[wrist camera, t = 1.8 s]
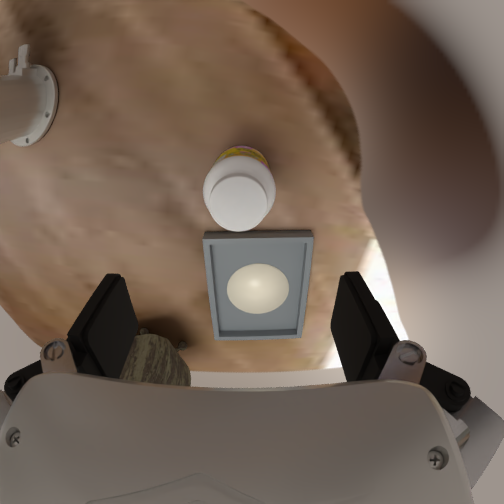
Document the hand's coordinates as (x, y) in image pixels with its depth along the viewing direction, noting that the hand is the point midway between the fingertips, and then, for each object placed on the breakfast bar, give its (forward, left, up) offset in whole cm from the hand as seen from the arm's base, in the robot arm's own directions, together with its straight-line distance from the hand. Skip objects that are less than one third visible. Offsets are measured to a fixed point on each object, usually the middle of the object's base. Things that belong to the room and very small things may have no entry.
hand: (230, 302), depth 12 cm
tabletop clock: (+28, -17, -25) cm, 41 cm away
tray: (+17, +2, -25) cm, 30 cm away
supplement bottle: (0, 0, -25) cm, 25 cm away
